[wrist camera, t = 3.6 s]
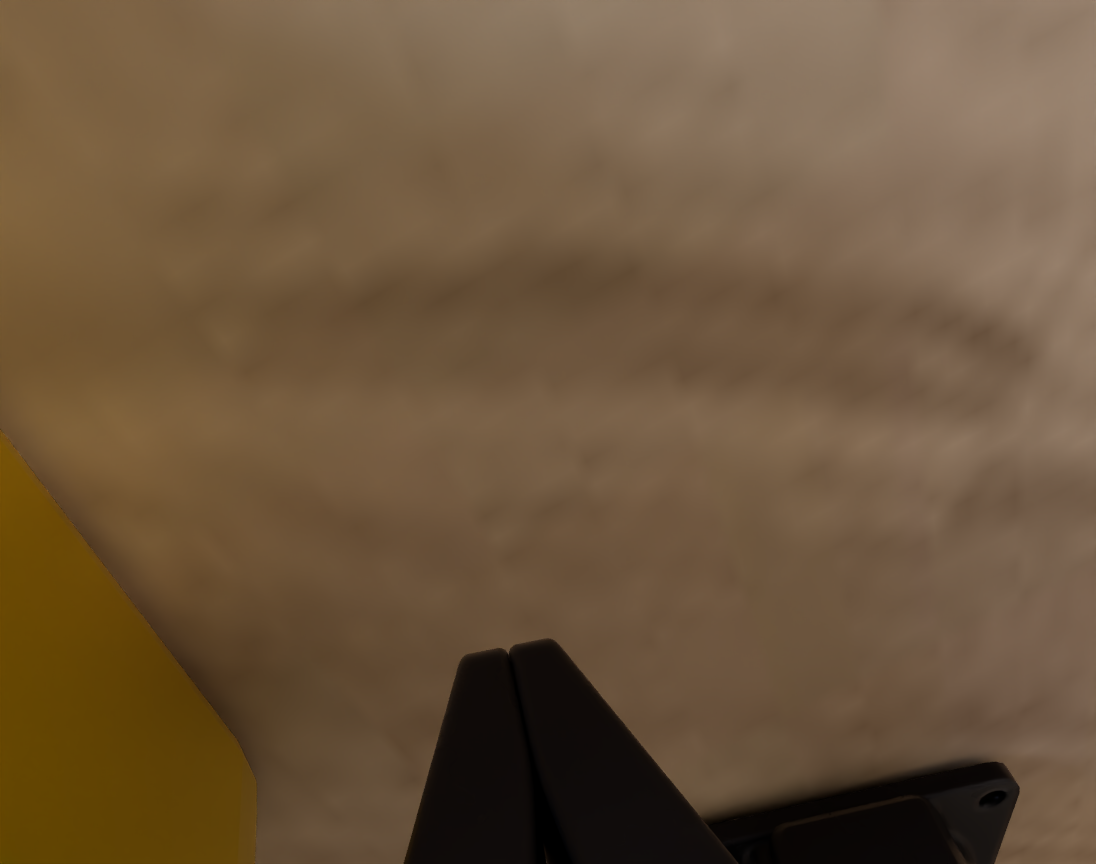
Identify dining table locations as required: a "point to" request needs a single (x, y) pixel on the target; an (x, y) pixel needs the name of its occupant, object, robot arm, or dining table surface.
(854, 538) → the dining table surface
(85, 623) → the element tile
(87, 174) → the dining table surface
